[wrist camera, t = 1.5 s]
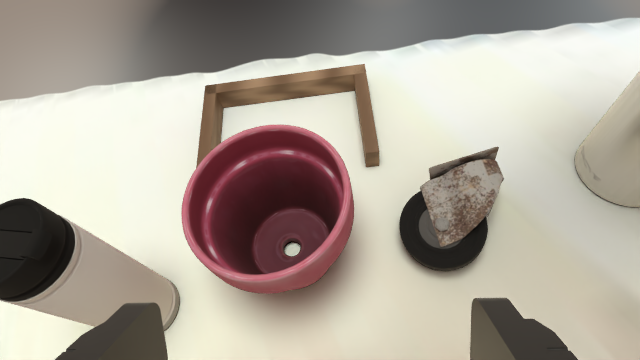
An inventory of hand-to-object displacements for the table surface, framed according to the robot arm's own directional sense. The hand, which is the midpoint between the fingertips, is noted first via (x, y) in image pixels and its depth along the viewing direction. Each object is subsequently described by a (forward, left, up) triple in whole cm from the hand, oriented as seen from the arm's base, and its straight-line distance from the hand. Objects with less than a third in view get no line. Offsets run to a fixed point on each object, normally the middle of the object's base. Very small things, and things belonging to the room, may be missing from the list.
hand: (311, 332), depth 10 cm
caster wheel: (-12, -14, -30) cm, 35 cm away
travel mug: (+20, -9, -30) cm, 37 cm away
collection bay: (+5, -28, -29) cm, 41 cm away
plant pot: (+5, -14, -30) cm, 33 cm away
